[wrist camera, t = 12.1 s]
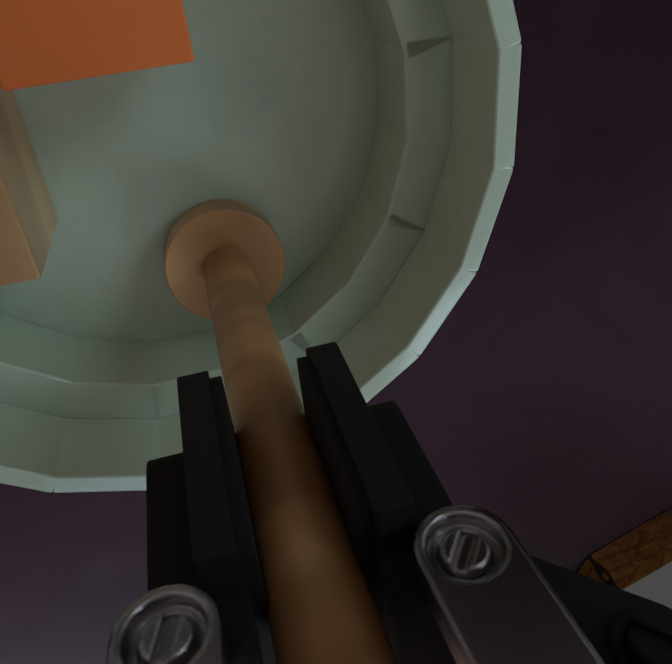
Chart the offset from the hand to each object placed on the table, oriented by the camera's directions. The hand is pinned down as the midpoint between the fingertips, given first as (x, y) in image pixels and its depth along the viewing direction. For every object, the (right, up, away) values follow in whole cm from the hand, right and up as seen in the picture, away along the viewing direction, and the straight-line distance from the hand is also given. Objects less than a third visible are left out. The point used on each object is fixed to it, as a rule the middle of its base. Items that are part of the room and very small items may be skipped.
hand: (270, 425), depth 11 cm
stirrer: (-2, +4, +8) cm, 10 cm away
